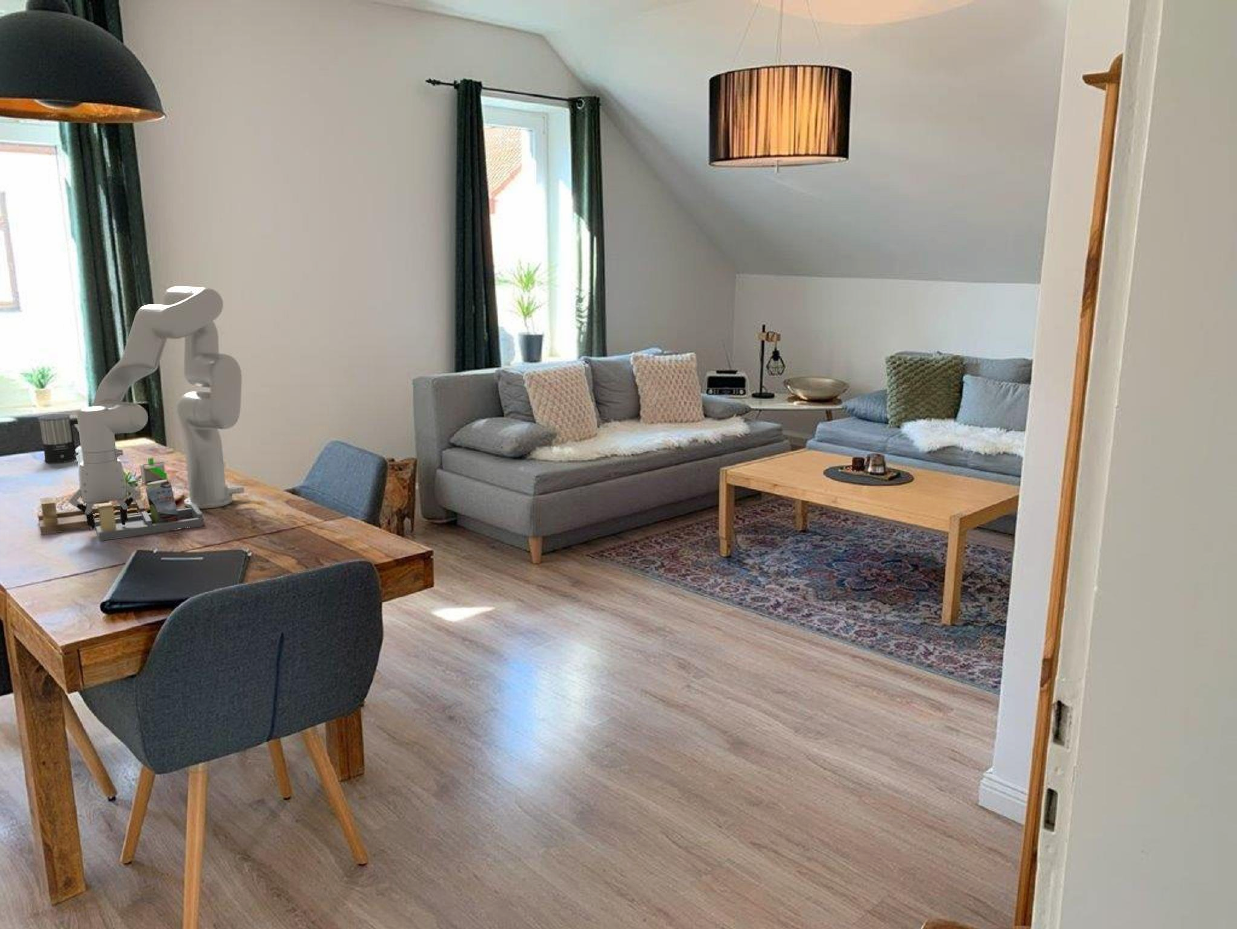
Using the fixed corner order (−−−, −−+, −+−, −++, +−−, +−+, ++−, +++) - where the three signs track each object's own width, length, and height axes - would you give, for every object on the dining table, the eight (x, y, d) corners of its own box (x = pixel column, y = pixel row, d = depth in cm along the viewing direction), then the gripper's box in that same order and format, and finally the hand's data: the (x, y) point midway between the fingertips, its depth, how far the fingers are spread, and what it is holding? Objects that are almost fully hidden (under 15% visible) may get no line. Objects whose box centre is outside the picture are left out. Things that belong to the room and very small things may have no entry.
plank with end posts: (140, 508, 260) (137, 484, 259) (146, 520, 250) (143, 494, 249) (38, 522, 248) (35, 496, 246) (41, 534, 238) (37, 507, 236)
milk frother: (52, 465, 307) (46, 420, 304) (28, 458, 316) (22, 414, 312) (96, 456, 319) (91, 413, 315) (71, 450, 327) (66, 408, 324)
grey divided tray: (195, 514, 256) (193, 489, 254) (204, 525, 246) (201, 499, 245) (95, 528, 243) (92, 501, 242) (100, 540, 234) (96, 513, 232)
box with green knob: (170, 482, 290) (167, 456, 288) (147, 486, 285) (144, 460, 283) (165, 479, 293) (162, 454, 291) (142, 483, 288) (139, 457, 286)
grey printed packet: (169, 530, 243) (164, 484, 240) (144, 527, 244) (138, 482, 241) (184, 522, 249) (180, 478, 246) (160, 520, 250) (155, 476, 247)
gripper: (136, 449, 243) (144, 516, 247) (58, 457, 233) (67, 527, 238) (140, 455, 237) (148, 524, 241) (60, 463, 227) (70, 535, 232)
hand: (108, 525), depth 239 cm, fingers open, 6 cm apart
